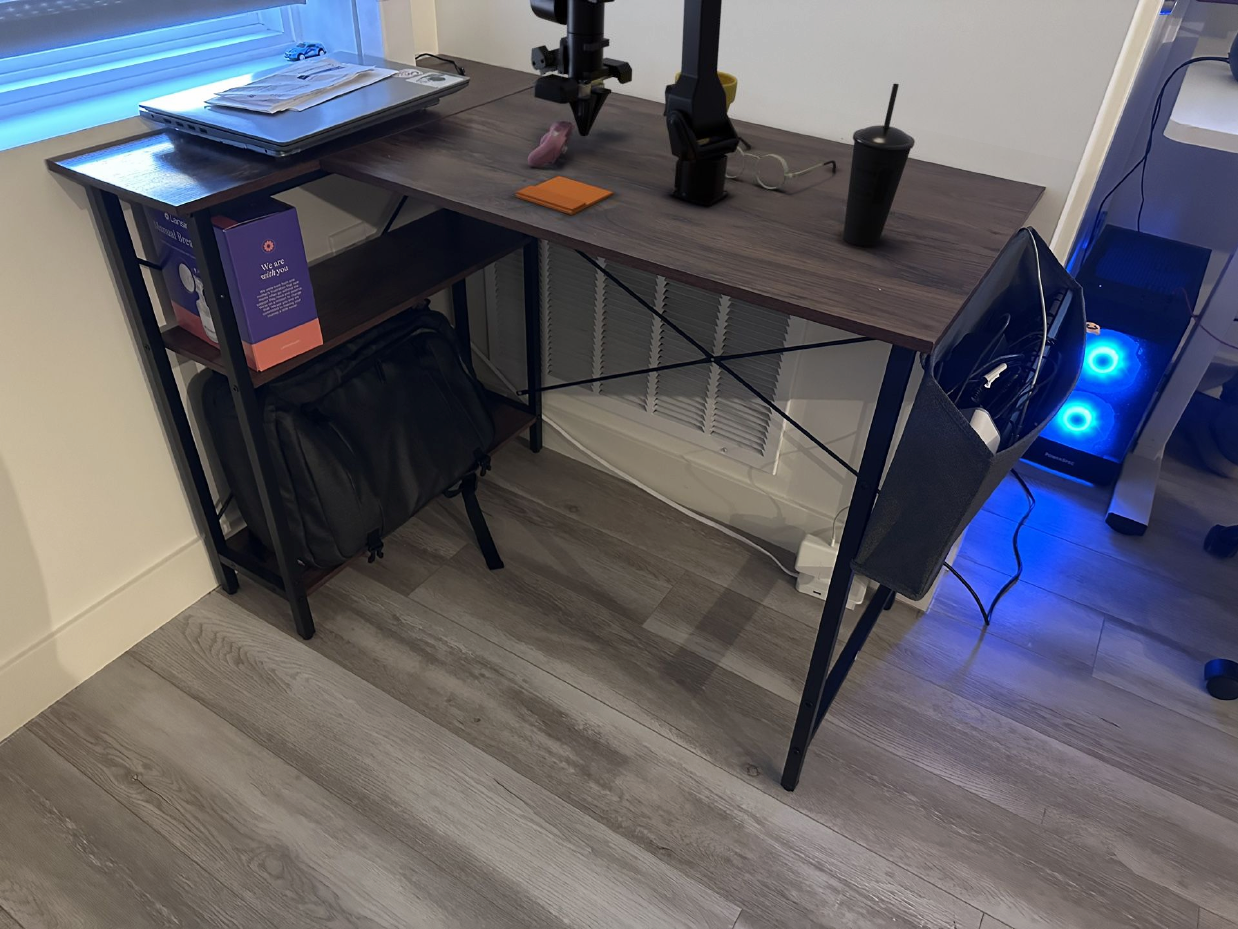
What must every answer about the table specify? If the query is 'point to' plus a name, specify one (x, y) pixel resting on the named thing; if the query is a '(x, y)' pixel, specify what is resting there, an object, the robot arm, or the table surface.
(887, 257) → the table surface
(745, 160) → the round eyeglasses
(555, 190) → the orange rag
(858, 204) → the drinking cup
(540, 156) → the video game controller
